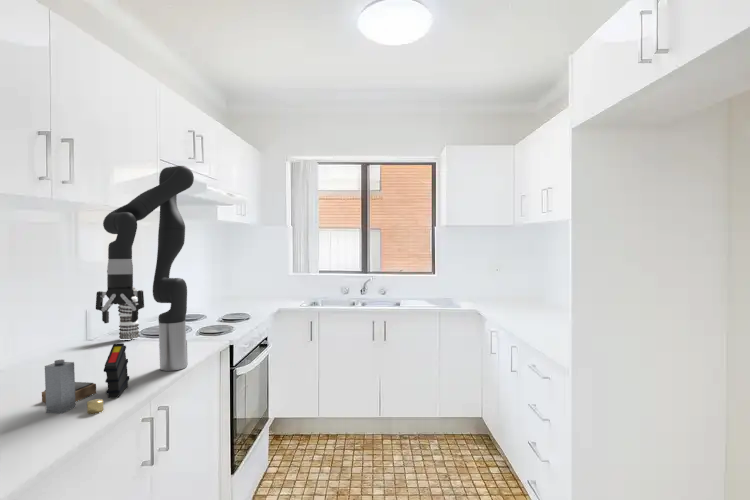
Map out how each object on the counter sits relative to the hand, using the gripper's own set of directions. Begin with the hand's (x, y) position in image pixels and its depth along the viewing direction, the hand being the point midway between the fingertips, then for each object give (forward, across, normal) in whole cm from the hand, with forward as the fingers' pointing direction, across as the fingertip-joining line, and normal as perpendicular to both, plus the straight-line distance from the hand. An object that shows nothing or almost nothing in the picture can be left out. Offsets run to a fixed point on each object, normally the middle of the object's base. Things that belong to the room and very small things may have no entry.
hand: (120, 322), depth 167 cm
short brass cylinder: (+22, -2, +25) cm, 33 cm away
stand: (+21, +11, +10) cm, 26 cm away
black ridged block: (+21, -2, +9) cm, 23 cm away
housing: (+22, +9, +21) cm, 32 cm away
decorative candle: (+16, +23, -80) cm, 85 cm away
